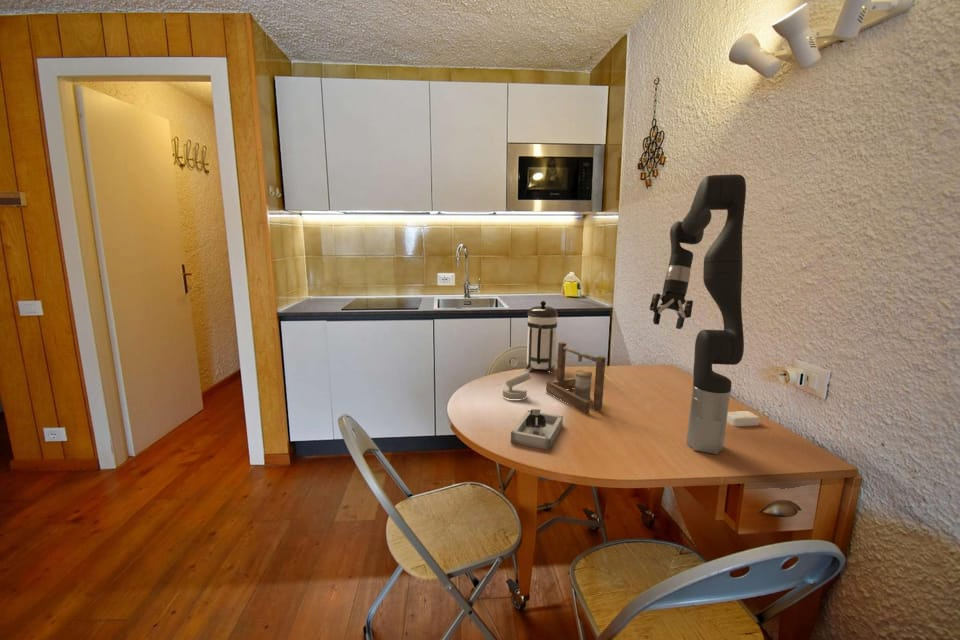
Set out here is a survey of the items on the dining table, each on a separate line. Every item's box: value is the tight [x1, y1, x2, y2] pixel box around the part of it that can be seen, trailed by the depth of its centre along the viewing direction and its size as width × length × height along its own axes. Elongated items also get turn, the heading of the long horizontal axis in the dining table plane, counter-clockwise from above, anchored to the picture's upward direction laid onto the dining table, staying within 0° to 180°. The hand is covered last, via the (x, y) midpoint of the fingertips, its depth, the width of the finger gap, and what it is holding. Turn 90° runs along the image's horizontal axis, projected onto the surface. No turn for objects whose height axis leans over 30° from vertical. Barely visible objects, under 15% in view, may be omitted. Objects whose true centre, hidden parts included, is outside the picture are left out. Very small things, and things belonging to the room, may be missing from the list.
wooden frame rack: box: [545, 341, 607, 415], centre depth 155 cm, size 15×22×18 cm, turn 27°
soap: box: [726, 410, 761, 427], centre depth 139 cm, size 9×6×3 cm, turn 98°
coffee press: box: [525, 300, 559, 374], centre depth 186 cm, size 17×16×30 cm
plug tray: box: [510, 409, 564, 450], centre depth 129 cm, size 17×11×3 cm, turn 157°
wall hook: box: [502, 370, 532, 399], centre depth 157 cm, size 9×10×10 cm
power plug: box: [526, 408, 546, 436], centre depth 130 cm, size 6×8×12 cm
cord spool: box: [574, 369, 593, 402], centre depth 156 cm, size 6×6×10 cm
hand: (667, 326), depth 151 cm, fingers open, 8 cm apart
